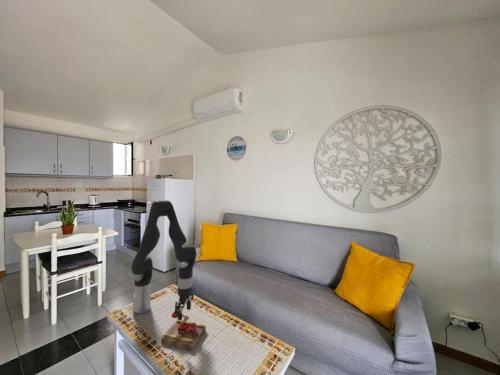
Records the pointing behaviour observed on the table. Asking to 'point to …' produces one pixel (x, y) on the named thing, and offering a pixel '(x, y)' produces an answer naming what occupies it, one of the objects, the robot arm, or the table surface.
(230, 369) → the table surface
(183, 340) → the platform
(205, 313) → the table surface
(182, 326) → the toy fire truck
